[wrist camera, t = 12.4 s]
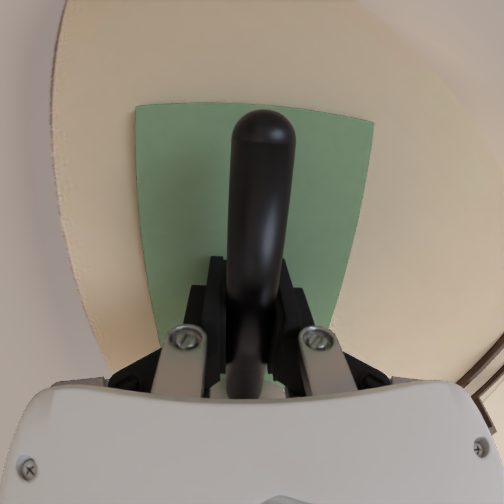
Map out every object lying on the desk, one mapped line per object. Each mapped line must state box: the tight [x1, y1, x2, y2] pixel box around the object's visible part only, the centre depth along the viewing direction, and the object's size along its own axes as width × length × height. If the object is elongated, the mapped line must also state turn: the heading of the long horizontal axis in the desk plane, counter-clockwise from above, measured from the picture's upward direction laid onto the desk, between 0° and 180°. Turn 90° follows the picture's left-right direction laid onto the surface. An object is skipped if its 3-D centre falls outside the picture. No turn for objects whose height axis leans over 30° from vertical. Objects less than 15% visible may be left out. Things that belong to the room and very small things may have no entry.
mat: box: [135, 103, 374, 389], centre depth 13 cm, size 16×9×1 cm, turn 176°
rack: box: [456, 335, 504, 436], centre depth 18 cm, size 11×13×8 cm
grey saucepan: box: [210, 109, 296, 399], centre depth 10 cm, size 16×5×2 cm, turn 176°
